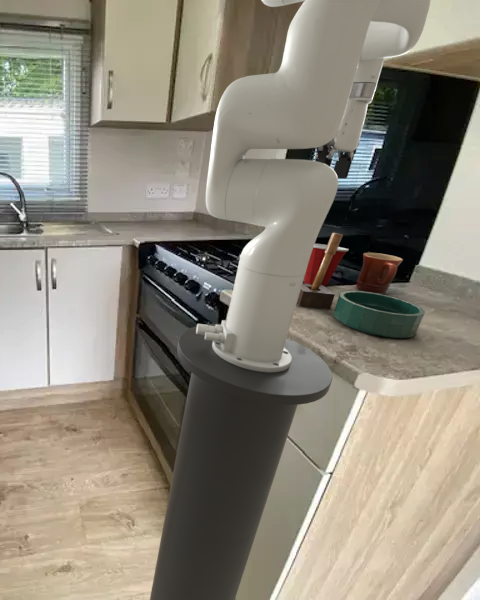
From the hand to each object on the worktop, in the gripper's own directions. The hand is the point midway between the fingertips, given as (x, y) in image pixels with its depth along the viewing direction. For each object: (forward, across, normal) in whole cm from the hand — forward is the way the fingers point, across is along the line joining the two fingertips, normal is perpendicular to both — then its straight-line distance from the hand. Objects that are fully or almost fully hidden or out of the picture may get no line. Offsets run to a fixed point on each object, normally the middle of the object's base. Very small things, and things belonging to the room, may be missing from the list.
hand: (329, 177), depth 84 cm
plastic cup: (+31, -18, -4) cm, 35 cm away
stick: (+30, +1, +4) cm, 31 cm away
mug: (+31, -26, +8) cm, 41 cm away
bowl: (+30, +3, +18) cm, 36 cm away
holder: (+30, +1, +4) cm, 31 cm away
